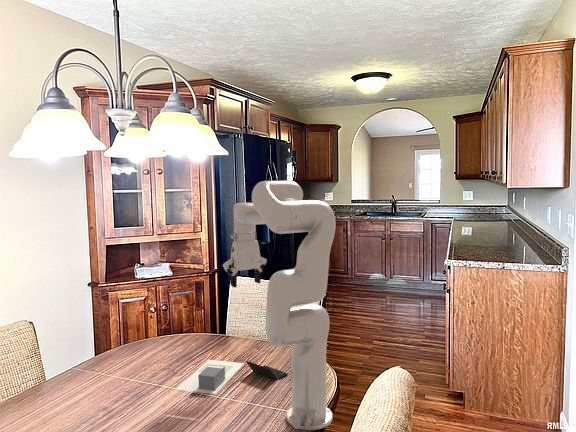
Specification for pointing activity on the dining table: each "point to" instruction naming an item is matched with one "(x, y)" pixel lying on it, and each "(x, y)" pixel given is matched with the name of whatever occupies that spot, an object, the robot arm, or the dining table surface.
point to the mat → (193, 380)
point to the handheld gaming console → (267, 371)
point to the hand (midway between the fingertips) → (245, 284)
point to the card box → (211, 377)
